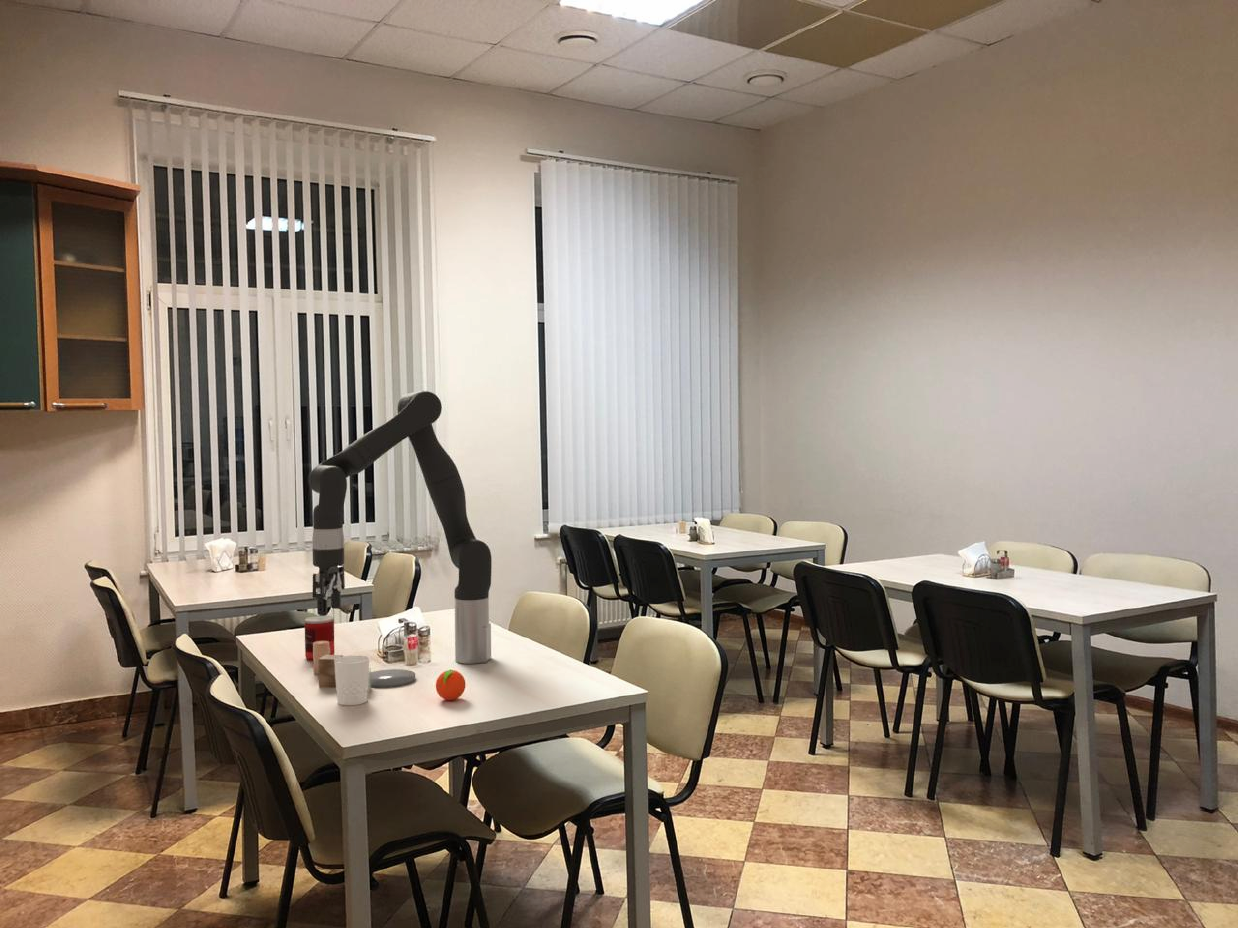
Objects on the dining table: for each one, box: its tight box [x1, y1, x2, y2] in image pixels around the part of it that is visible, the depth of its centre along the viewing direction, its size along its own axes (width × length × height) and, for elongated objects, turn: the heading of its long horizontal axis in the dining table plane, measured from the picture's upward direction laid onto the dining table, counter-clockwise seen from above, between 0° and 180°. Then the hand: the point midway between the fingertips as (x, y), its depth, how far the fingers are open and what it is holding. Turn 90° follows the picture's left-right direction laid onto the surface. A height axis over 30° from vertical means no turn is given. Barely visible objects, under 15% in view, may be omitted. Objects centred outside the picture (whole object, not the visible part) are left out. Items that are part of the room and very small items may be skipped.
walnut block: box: [318, 654, 344, 689], centre depth 241 cm, size 4×4×7 cm
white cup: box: [334, 654, 370, 706], centre depth 226 cm, size 8×8×10 cm
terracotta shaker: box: [312, 641, 329, 676], centre depth 252 cm, size 4×4×8 cm
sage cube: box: [368, 667, 372, 695], centre depth 235 cm, size 5×5×5 cm
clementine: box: [435, 669, 467, 701], centre depth 227 cm, size 8×7×7 cm
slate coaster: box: [371, 668, 416, 688], centre depth 245 cm, size 13×13×1 cm
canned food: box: [304, 615, 335, 662], centre depth 269 cm, size 8×8×11 cm
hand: (329, 611), depth 240 cm, fingers open, 8 cm apart
